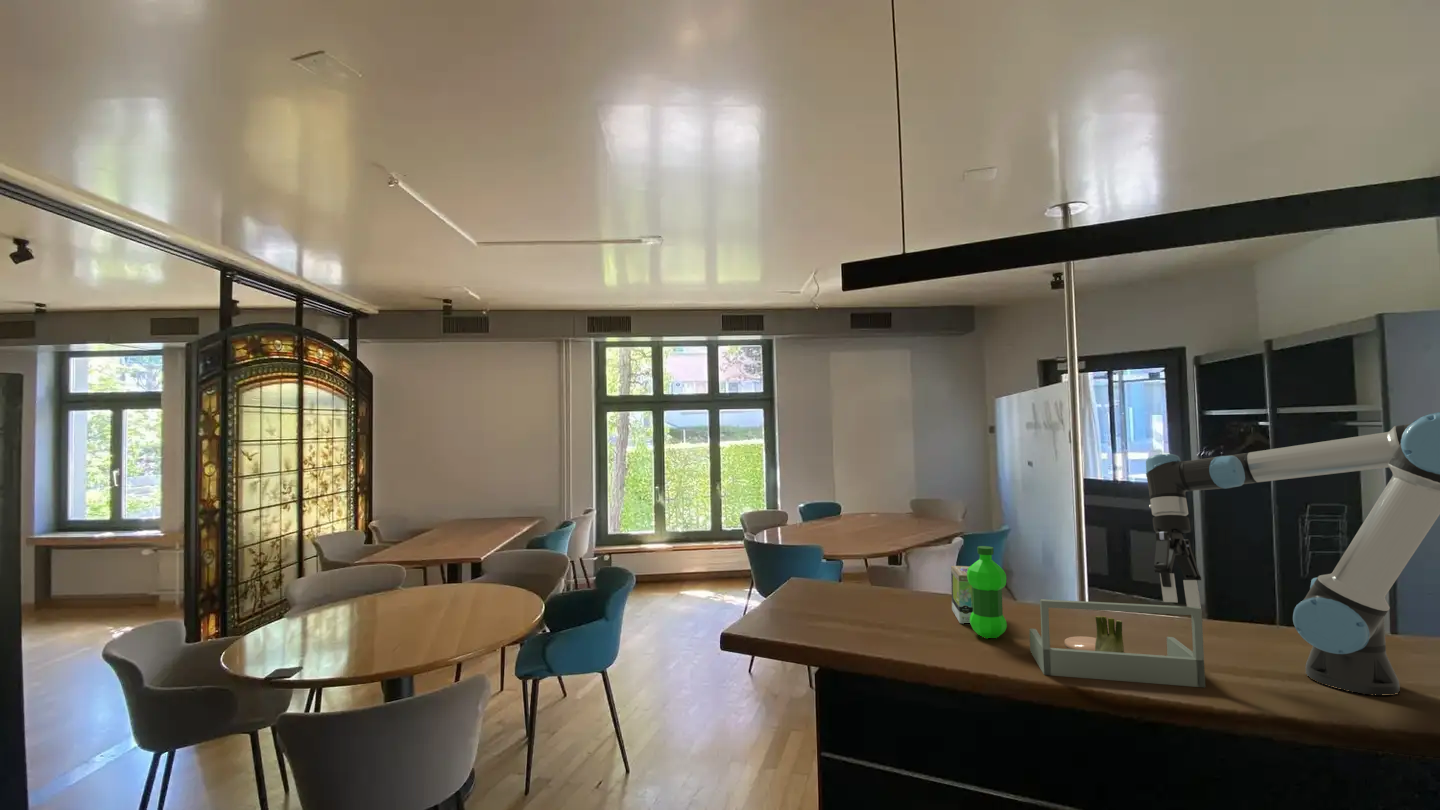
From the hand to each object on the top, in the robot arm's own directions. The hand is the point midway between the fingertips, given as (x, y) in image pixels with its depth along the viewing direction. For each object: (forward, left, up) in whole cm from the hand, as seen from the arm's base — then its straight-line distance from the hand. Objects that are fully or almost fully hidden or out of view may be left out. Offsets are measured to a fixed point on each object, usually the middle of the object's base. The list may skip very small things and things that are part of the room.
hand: (1182, 605), depth 152 cm
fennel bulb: (+14, +7, -16) cm, 23 cm away
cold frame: (+14, +8, -16) cm, 23 cm away
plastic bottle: (+45, +4, -16) cm, 48 cm away
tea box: (+56, -10, -16) cm, 60 cm away
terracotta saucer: (+21, -5, -16) cm, 27 cm away
